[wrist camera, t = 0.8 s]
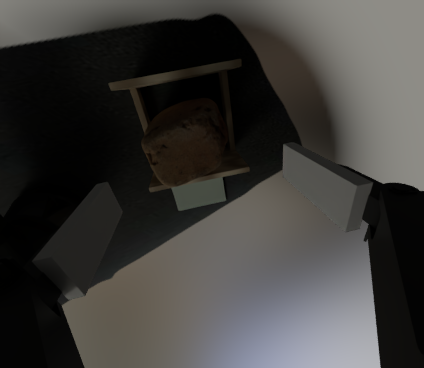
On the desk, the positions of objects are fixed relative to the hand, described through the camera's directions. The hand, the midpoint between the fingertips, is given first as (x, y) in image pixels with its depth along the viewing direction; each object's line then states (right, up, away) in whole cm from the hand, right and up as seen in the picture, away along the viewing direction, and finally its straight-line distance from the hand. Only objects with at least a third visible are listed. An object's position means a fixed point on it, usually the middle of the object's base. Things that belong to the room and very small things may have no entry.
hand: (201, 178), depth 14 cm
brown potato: (-4, +12, +23) cm, 27 cm away
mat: (-3, -1, +30) cm, 30 cm away
